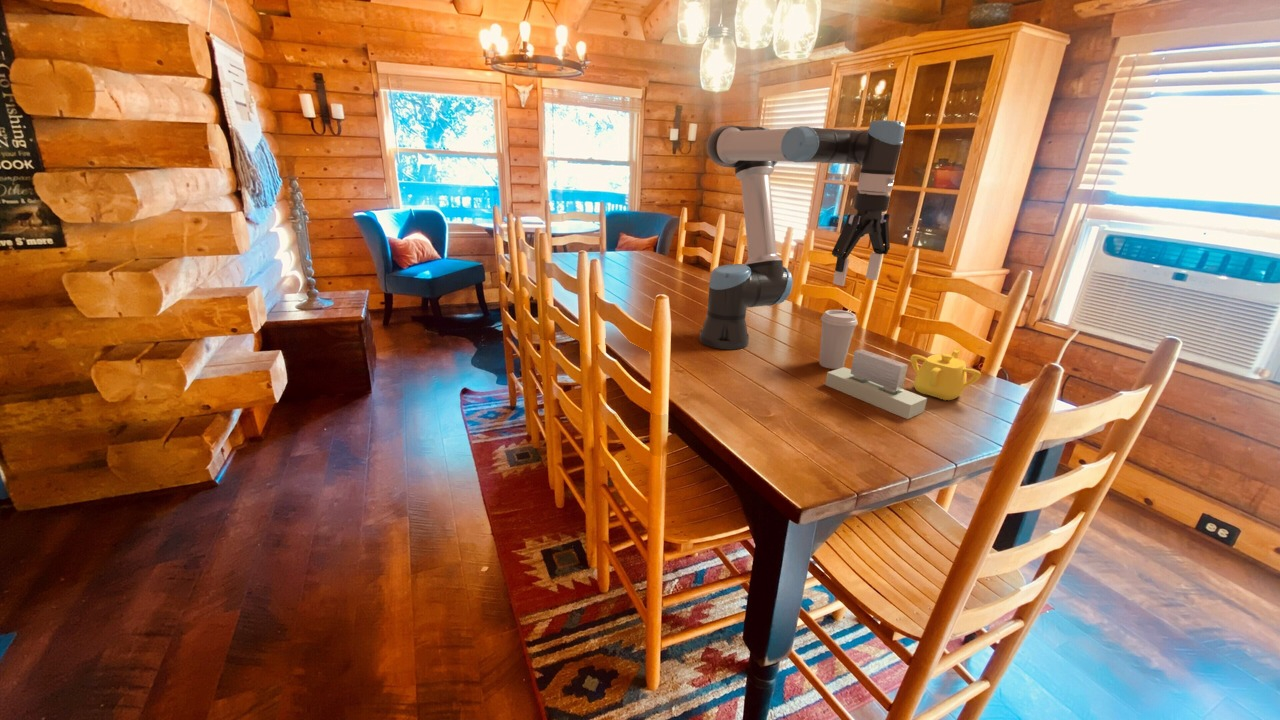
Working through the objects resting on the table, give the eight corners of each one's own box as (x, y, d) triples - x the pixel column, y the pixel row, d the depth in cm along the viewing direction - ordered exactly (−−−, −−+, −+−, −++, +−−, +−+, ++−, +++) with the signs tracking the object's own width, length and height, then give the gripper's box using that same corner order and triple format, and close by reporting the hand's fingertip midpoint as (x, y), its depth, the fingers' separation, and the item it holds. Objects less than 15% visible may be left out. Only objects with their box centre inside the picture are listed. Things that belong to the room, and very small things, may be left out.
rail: (825, 384, 134) (827, 372, 133) (841, 379, 138) (844, 367, 137) (907, 419, 118) (910, 405, 117) (923, 411, 122) (927, 398, 120)
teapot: (899, 380, 139) (908, 343, 136) (949, 382, 139) (959, 346, 135) (922, 402, 127) (932, 363, 123) (977, 405, 126) (988, 366, 122)
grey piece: (847, 388, 132) (854, 351, 128) (854, 385, 133) (861, 349, 130) (892, 406, 123) (901, 367, 119) (898, 403, 124) (908, 364, 120)
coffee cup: (844, 359, 152) (853, 310, 146) (853, 372, 143) (863, 319, 138) (810, 357, 153) (818, 307, 147) (817, 370, 144) (826, 317, 138)
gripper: (855, 195, 113) (837, 291, 121) (917, 193, 127) (897, 279, 135) (826, 192, 119) (810, 283, 127) (888, 190, 132) (870, 273, 140)
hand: (855, 281), depth 131 cm, fingers open, 13 cm apart
